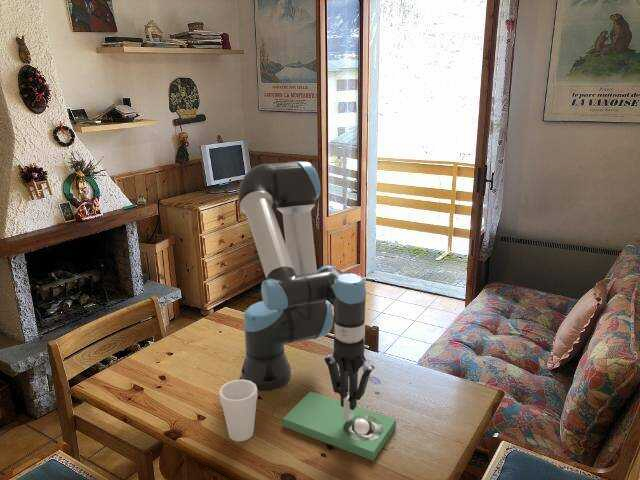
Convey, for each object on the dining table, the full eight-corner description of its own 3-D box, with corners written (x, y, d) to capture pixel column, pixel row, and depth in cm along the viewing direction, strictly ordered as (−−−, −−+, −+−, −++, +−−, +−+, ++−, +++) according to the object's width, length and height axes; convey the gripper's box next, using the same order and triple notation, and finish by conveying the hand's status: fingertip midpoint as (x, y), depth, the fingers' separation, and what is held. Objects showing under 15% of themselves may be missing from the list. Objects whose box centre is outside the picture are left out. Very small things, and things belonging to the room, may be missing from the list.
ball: (349, 420, 134) (363, 413, 133) (355, 425, 137) (369, 419, 136) (354, 435, 131) (367, 428, 131) (360, 440, 134) (373, 433, 133)
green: (283, 426, 137) (282, 418, 137) (310, 398, 149) (310, 391, 148) (373, 460, 125) (373, 452, 124) (395, 427, 136) (396, 419, 135)
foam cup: (243, 450, 129) (240, 405, 125) (215, 437, 134) (211, 393, 130) (266, 429, 136) (264, 386, 132) (239, 417, 141) (236, 375, 137)
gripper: (318, 337, 127) (319, 418, 135) (367, 350, 121) (365, 434, 129) (332, 324, 133) (333, 402, 141) (380, 336, 127) (377, 417, 135)
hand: (348, 417), depth 135 cm, fingers closed
